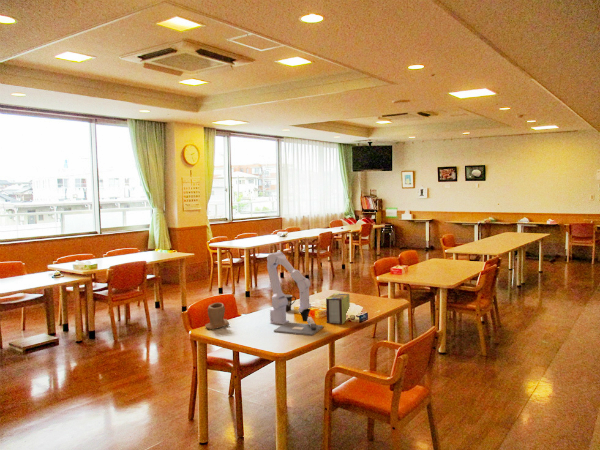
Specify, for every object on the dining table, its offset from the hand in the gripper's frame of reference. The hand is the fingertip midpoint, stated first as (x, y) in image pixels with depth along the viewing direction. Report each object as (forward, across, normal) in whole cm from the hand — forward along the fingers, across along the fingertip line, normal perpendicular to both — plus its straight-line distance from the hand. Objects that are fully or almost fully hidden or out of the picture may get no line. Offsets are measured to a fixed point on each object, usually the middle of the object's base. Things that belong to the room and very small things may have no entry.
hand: (305, 321), depth 304 cm
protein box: (+3, +18, -15) cm, 24 cm away
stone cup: (+4, -18, +50) cm, 53 cm away
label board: (+3, -8, +1) cm, 9 cm away
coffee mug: (+3, +33, +26) cm, 42 cm away
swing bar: (+2, -2, -5) cm, 6 cm away
